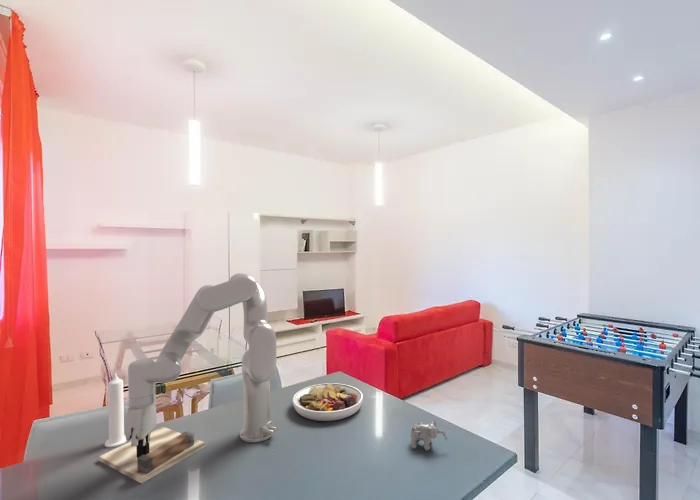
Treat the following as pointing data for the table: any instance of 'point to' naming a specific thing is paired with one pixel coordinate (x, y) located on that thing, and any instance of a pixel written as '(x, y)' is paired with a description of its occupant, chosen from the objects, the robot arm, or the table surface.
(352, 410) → the bowl
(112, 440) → the candle
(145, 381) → the robot arm
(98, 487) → the table surface
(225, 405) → the table surface
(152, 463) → the bar
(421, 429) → the gray elephant figurine
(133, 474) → the ash board
